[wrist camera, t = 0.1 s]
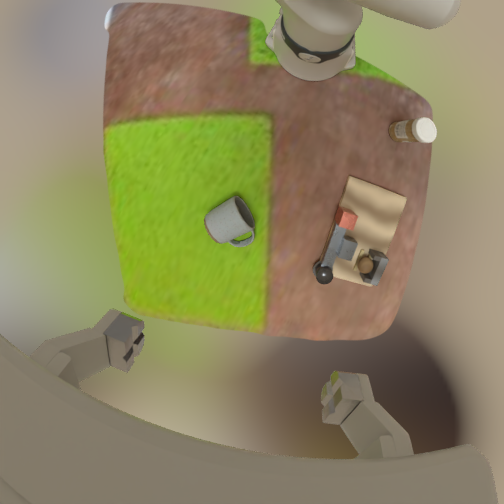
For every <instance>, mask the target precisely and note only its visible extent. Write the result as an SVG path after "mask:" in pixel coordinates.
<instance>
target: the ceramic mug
mask: <svg viewBox="0 0 504 504" xmlns="http://www.w3.org/2000/svg"><path fill="white" fill-rule="evenodd" d="M204 224H205V228H206V230H207V232H208V234H209V235H210V237H211V238H212V239H213V240H214V241H215V242H217V243H226V242H229V243H230V244H231V245H233V246H236V247H243V246H247V245H249V244H250V243H252V242H253V240H254V228H255V223H254V219H253V217H252V214H251V212H250V211H249V208H248V207H247V205H246V204H245V203H244V201H243V200H242V199H241V198H240V197H238V196H233V197H232V198H230V199H229V200H227V201H225V202H224V203H222V204H221V205H219V206H218V207H216V208H214V209H213V210H211V211H210V212H209V213H208V214H207V215H206V216H205V219H204ZM249 231H252V236H251V237H250V238H248V239H246V240H243V241H240V242H237V241H234V240H232V239H234V238H236V237H238V236H241V235H243V234H245V233H247V232H249Z"/></svg>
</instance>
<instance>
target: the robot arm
mask: <svg viewBox="0 0 504 504" xmlns="http://www.w3.org/2000/svg"><path fill="white" fill-rule="evenodd" d="M276 1H277V2H278V3H279V4H280V6H281V9H280V12H279V14H281V15H280V16H279V18H278V19H277V20H276V22H275V25H274V26H273V28H272V29H271V31H270V33H269V35H268V36H267V38H266V41H265V43H266V45H267V46H268V47H269V48H270V49H271V50H272V51H274V53H275V54H276V57H277V59H278V61H279V63H280V64H281V65H282V67H283V68H284V69H285V70H286V71H287V72H289V73H290V74H292V75H293V76H295V77H298V78H300V79H303V80H308V81H322V80H326V79H329V78H331V77H333V76H335V75H336V74H337V73H339V72H340V71H342V70H348V69H352V68H353V67H354V66H355V31H356V30H357V28H358V27H359V25H360V24H361V21H362V16H363V12H362V7H361V6H363V7H365V8H368V9H371V10H373V11H376V12H378V13H380V14H383V15H385V16H387V17H391V18H394V19H397V20H401V21H404V22H407V23H410V24H413V25H416V26H419V27H423V28H425V29H433V28H437V27H440V26H443V25H445V24H446V23H448V22H449V21H451V20H452V19H453V18H454V17H455V15H456V14H457V12H458V10H459V7H460V2H461V0H276ZM272 37H273V38H272ZM143 329H144V321H143V320H140V319H138V318H136V317H133V316H131V315H128V314H126V313H124V312H120V311H118V310H116V309H110V310H109V311H108V312H107V313H106V314H105V315H104V317H102V319H101V320H100V321H99V322H98V323H97V324H96V325H95V326H94V327H93V328H92V329H91V328H87V329H84V330H80V331H77V332H74V333H70V334H66V335H63V336H59V337H56V338H52V339H49V340H45V341H44V342H43V343H42V344H41V345H40V346H39V347H38V348H37V349H36V351H35V352H34V353H33V354H32V355H31V356H30V357H28V356H27V355H26V354H24V353H23V352H22V351H20V350H19V349H18V348H16V347H15V346H14V345H13V344H11V343H10V342H9V341H8V340H6V339H5V338H4V337H3V336H2V335H1V334H0V504H498V499H497V493H496V487H495V482H494V478H493V474H492V471H491V467H490V464H489V462H488V460H487V458H486V457H485V456H484V455H483V454H482V453H481V452H480V451H479V450H477V449H476V448H475V447H473V446H472V445H470V444H465V445H461V446H457V447H453V448H448V449H444V450H439V451H434V452H428V453H422V454H416V455H414V453H413V449H412V445H411V441H410V438H409V434H408V433H407V432H406V431H405V430H404V429H403V428H402V427H401V426H400V425H399V424H398V423H397V422H396V421H395V420H394V419H393V418H392V417H391V416H390V415H389V414H388V413H387V411H386V410H384V408H383V407H382V406H381V405H379V403H378V402H375V401H374V398H373V394H372V389H371V386H370V382H369V379H368V376H367V375H365V374H357V373H356V374H355V373H348V372H341V371H335V372H333V373H332V375H331V381H329V382H327V383H326V384H325V386H324V387H323V390H322V393H321V403H322V404H323V406H324V409H323V410H322V418H323V423H329V424H338V425H340V426H341V428H342V429H343V431H344V432H345V434H346V435H347V437H348V438H349V440H350V441H351V443H352V444H353V446H354V447H355V449H356V450H357V452H358V453H359V455H358V456H357V457H356V458H355V459H316V458H302V457H291V456H283V455H275V454H268V453H261V452H255V451H250V450H244V449H239V448H234V447H230V446H225V445H221V444H217V443H213V442H209V441H205V440H201V439H198V438H194V437H191V436H188V435H184V434H181V433H178V432H175V431H172V430H169V429H166V428H163V427H161V426H158V425H155V424H152V423H150V422H147V421H145V420H142V419H140V418H137V417H135V416H133V415H130V414H128V413H126V412H123V411H121V410H119V409H116V408H114V407H112V406H110V405H108V404H106V403H104V402H102V401H100V400H98V399H96V398H94V397H92V396H91V395H89V394H87V393H85V392H83V391H81V388H80V385H79V382H81V381H83V380H85V379H86V378H89V377H91V376H93V375H95V374H96V373H98V372H101V371H103V370H104V369H106V368H108V367H110V366H112V367H115V368H117V369H120V370H122V371H124V372H128V371H129V370H130V368H131V366H132V365H133V363H134V357H136V356H138V355H139V354H140V352H141V350H142V347H143V345H144V334H143V333H142V330H143Z"/></svg>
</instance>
